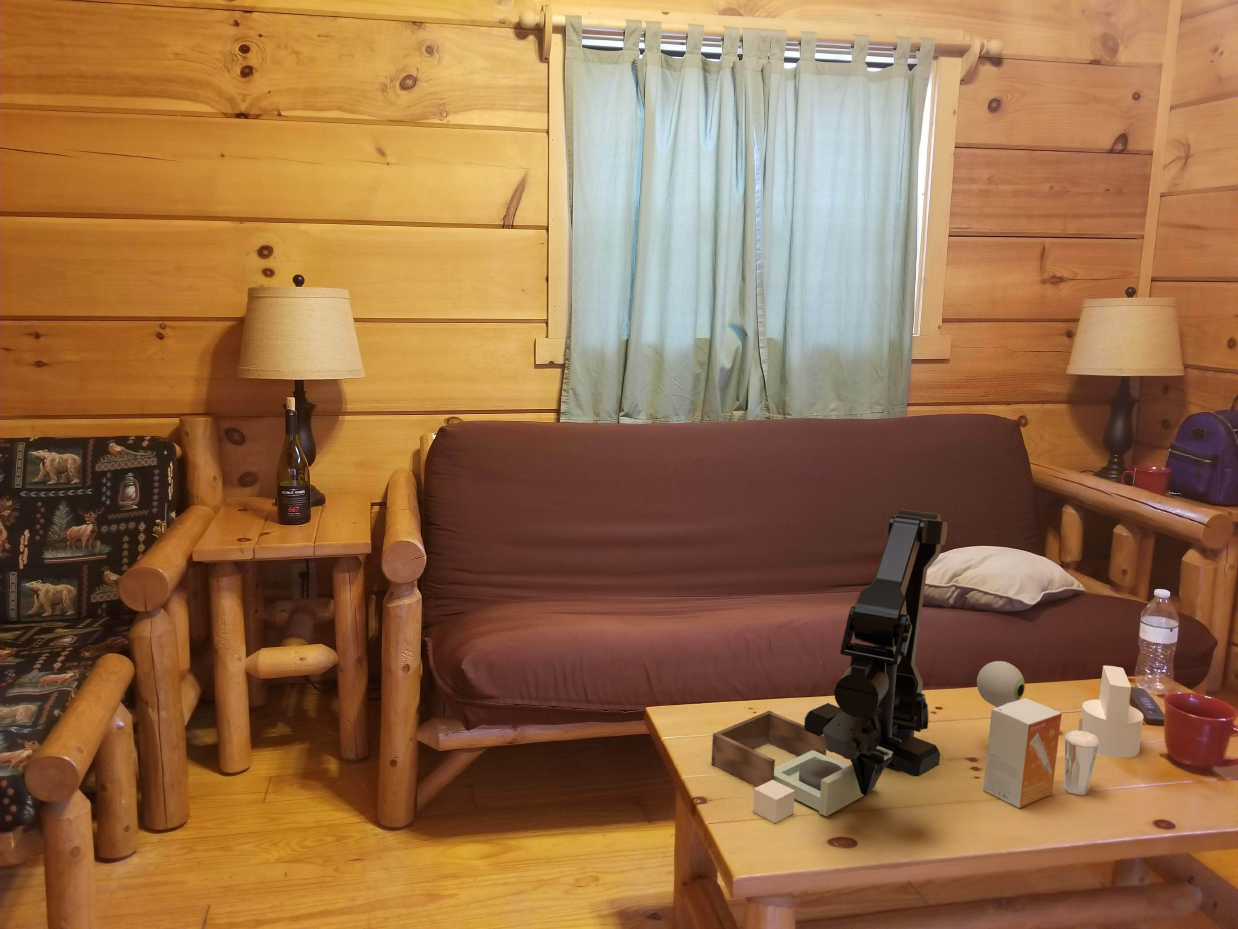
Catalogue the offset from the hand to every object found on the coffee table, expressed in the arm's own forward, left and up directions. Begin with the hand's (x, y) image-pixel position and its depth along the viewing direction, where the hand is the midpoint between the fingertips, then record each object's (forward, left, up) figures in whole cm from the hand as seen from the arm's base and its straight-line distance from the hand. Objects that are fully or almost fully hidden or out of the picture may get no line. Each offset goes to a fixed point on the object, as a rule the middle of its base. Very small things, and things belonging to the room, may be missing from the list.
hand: (865, 794), depth 140 cm
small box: (-22, +12, -3) cm, 25 cm away
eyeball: (-32, +3, -3) cm, 32 cm away
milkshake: (-30, +17, -3) cm, 34 cm away
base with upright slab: (-49, +14, -3) cm, 51 cm away
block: (+11, -8, -2) cm, 13 cm away
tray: (0, -8, -2) cm, 9 cm away
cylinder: (0, -8, -1) cm, 8 cm away
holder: (0, -17, -3) cm, 18 cm away
